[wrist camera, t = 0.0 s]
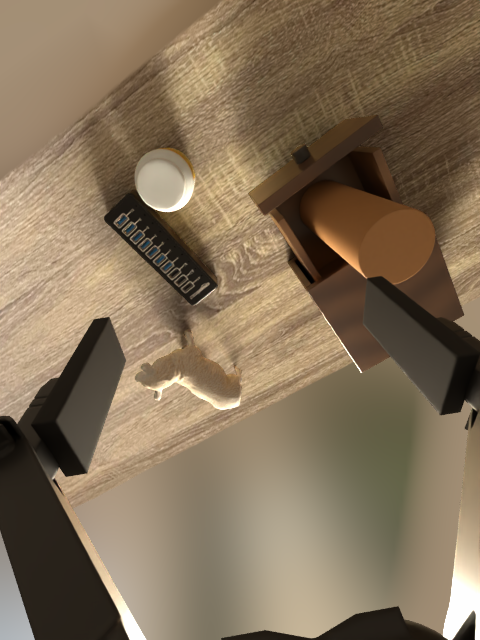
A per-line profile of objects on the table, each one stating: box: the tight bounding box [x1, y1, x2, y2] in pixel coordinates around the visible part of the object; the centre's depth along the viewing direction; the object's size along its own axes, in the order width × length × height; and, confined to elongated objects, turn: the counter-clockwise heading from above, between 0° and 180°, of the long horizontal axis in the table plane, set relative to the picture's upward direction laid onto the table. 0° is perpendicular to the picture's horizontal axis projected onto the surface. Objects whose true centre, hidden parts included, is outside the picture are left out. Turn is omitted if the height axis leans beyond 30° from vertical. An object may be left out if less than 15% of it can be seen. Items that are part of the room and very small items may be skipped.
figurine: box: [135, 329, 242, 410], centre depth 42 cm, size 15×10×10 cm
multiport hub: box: [104, 190, 218, 305], centre depth 38 cm, size 4×14×2 cm, turn 38°
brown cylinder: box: [300, 180, 435, 284], centre depth 29 cm, size 6×6×16 cm
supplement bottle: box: [135, 148, 195, 212], centre depth 31 cm, size 5×5×10 cm
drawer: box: [248, 115, 403, 282], centre depth 34 cm, size 15×12×7 cm
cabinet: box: [288, 205, 464, 372], centre depth 39 cm, size 15×14×9 cm
